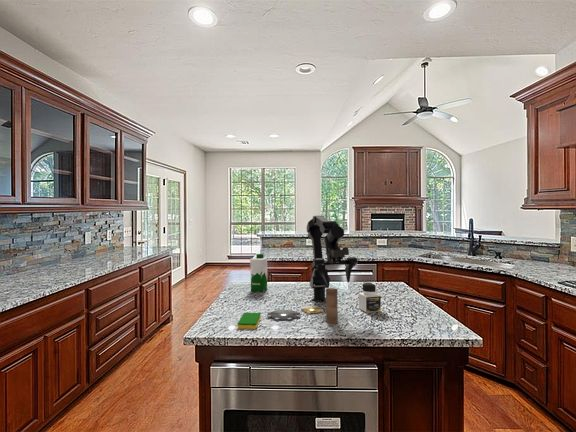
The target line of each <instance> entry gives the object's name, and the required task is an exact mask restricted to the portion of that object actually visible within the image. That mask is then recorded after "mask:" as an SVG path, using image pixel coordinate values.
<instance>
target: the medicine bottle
mask: <svg viewBox="0 0 576 432" xmlns="http://www.w3.org/2000/svg"><path fill="white" fill-rule="evenodd" d="M377 287H378V286H377V283H375V282H369V281H367V282H364V283H362V292H358V309H359V310H361V311H362V312H365V313H366V314H367V313H368V314H369V313H377V312H381V311H382V310H381V309H382V306H381V305H382V303H381V299H382V296H381V294H378V293H377V292H378V291H377V289H378V288H377Z"/></svg>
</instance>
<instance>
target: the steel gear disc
mask: <svg viewBox="0 0 576 432" xmlns="http://www.w3.org/2000/svg"><path fill="white" fill-rule="evenodd" d="M300 314H301V312H300V311H296V310H293V309H290V308H287V309H279V308H278V309H276V310H273V311H268V312H267V315H266V318H267V319H272V320H274V321H275V322H279V321H288V322H292V320H294V319H300V318H301V315H300Z"/></svg>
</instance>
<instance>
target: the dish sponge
mask: <svg viewBox="0 0 576 432" xmlns="http://www.w3.org/2000/svg"><path fill="white" fill-rule="evenodd" d="M260 321H261V312H243V313H242V315H241V317H240V319H239V320H238V322H237V329H238V330H241V329H242V330H245V329H246V330H256V329H257V328H258V325H259V324H260Z"/></svg>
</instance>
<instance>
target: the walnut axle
mask: <svg viewBox="0 0 576 432" xmlns="http://www.w3.org/2000/svg"><path fill="white" fill-rule="evenodd" d="M325 297H326V300H325V321H326V323H327V324H330V325H335V324H338V322H339V321H338V319H339V318H338V317H339V316H338V309H339V308H338V289H337V288H335V287H329V288H325Z"/></svg>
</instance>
